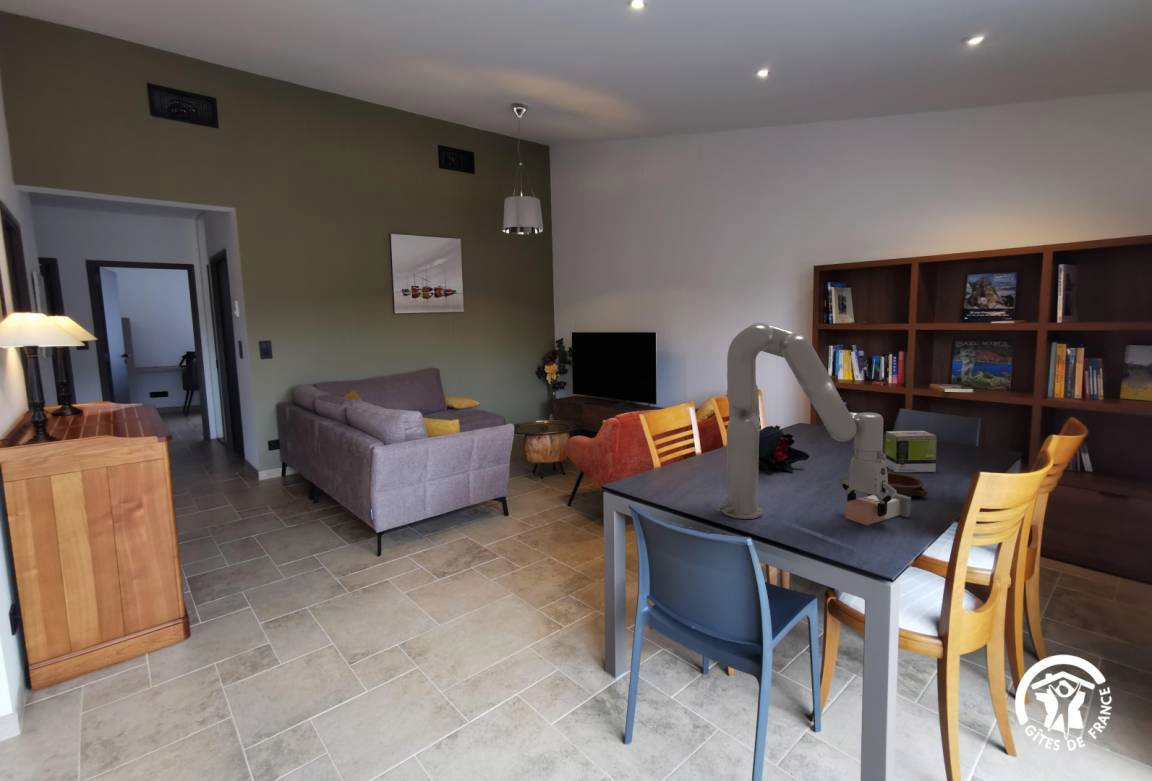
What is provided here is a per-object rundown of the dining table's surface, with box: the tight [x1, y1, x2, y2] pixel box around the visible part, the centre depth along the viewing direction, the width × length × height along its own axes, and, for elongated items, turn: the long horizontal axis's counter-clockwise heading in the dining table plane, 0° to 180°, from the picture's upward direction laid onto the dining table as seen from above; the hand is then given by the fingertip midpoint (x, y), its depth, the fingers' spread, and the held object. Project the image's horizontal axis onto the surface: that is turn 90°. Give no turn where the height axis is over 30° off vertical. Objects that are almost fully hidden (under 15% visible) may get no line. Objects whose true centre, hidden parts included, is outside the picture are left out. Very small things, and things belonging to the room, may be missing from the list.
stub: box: [844, 496, 885, 526], centre depth 170 cm, size 8×7×5 cm
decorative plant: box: [758, 424, 810, 474], centre depth 226 cm, size 21×26×30 cm
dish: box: [887, 471, 928, 497], centre depth 198 cm, size 17×22×5 cm
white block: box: [864, 492, 912, 521], centre depth 175 cm, size 12×12×6 cm
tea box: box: [884, 430, 938, 473], centre depth 224 cm, size 15×10×15 cm, turn 84°
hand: (866, 510), depth 170 cm, fingers open, 9 cm apart
